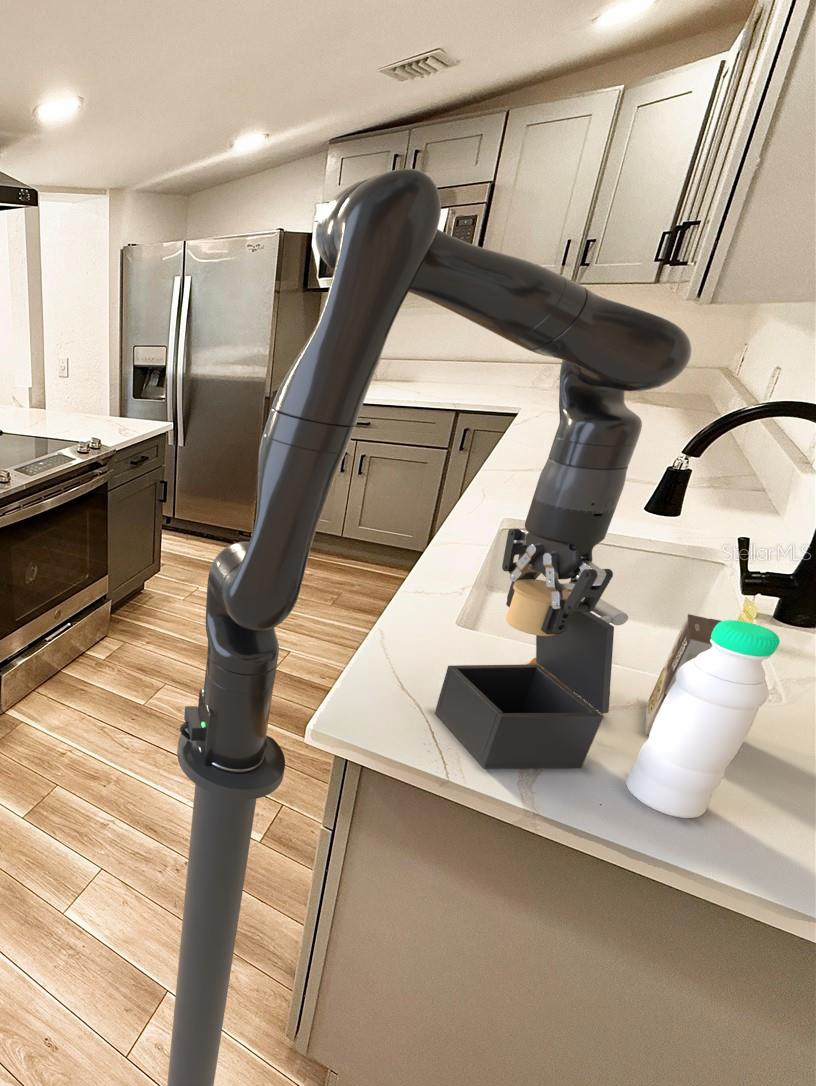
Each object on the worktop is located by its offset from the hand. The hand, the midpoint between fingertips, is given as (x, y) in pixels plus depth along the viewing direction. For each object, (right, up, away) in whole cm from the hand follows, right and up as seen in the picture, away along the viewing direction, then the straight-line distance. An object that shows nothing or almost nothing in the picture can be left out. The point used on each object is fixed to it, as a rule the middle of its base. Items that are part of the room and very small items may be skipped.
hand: (533, 619), depth 80 cm
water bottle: (+14, -22, -3) cm, 27 cm away
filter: (0, -1, 0) cm, 1 cm away
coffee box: (+28, -17, +8) cm, 33 cm away
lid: (+6, -4, +1) cm, 7 cm away
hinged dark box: (+3, -18, +8) cm, 20 cm away
